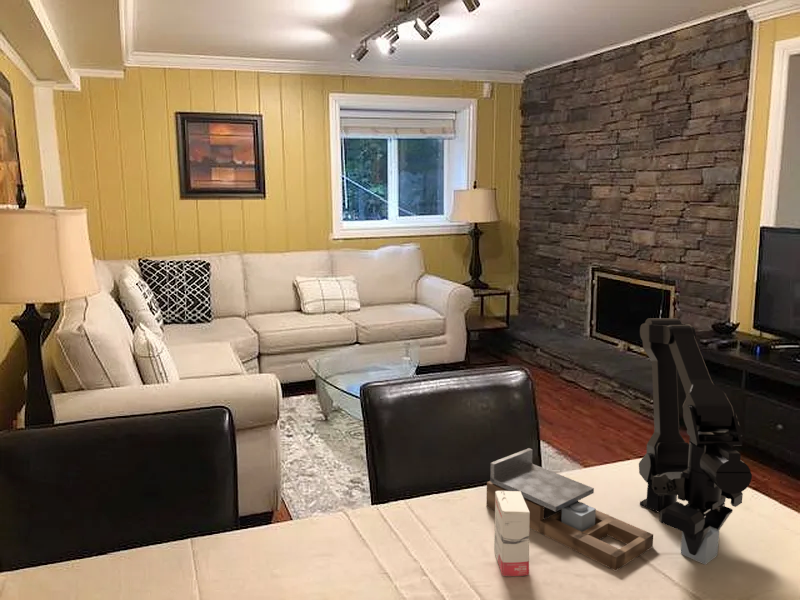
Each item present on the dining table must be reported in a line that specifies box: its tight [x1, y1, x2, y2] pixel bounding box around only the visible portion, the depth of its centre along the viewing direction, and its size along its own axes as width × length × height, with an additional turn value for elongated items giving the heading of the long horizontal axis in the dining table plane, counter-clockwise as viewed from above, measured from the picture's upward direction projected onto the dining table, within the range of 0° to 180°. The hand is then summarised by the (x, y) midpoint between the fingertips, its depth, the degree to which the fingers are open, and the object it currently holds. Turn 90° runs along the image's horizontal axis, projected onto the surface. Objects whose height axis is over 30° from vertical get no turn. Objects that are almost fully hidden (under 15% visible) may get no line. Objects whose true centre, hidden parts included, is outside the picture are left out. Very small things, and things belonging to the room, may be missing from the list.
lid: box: [489, 447, 595, 513], centre depth 132 cm, size 12×17×4 cm
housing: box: [485, 480, 654, 571], centre depth 129 cm, size 12×31×5 cm, turn 39°
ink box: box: [493, 491, 530, 577], centre depth 115 cm, size 9×5×12 cm, turn 1°
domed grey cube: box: [680, 526, 720, 565], centre depth 118 cm, size 4×4×6 cm
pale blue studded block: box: [561, 500, 597, 532], centre depth 126 cm, size 4×4×6 cm
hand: (699, 549), depth 118 cm, fingers closed on domed grey cube, 4 cm apart
